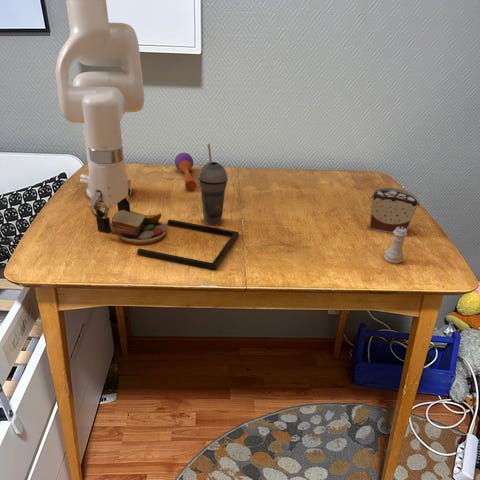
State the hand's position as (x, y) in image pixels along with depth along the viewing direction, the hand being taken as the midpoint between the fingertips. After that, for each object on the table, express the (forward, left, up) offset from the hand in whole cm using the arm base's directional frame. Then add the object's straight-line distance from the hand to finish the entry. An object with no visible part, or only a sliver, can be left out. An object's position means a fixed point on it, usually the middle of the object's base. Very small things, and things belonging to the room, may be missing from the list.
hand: (115, 224), depth 116 cm
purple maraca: (+3, +40, -2) cm, 41 cm away
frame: (+20, 0, -2) cm, 20 cm away
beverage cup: (+21, +14, -2) cm, 25 cm away
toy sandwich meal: (+6, 0, -2) cm, 7 cm away
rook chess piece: (+68, +11, -2) cm, 69 cm away
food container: (+66, +29, -2) cm, 72 cm away
